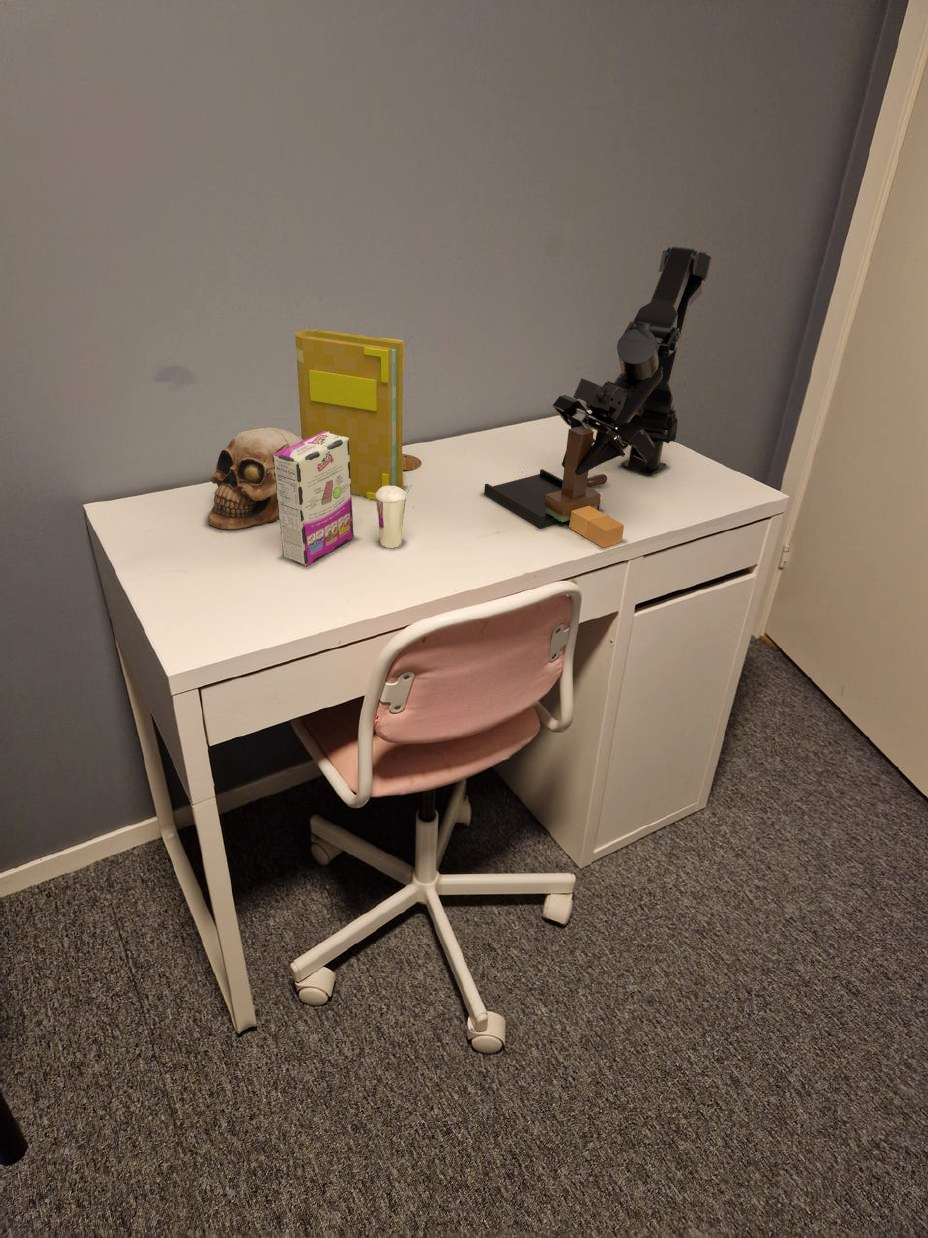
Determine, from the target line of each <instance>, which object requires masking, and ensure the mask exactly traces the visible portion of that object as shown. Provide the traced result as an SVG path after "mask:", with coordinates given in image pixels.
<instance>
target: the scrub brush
mask: <svg viewBox="0 0 928 1238" xmlns="http://www.w3.org/2000/svg"><path fill="white" fill-rule="evenodd" d="M594 435H595V431H593V430H589V429H587V428H585V427H583V426H579V427H575V428H571V427H570V428H569V429H568V432H567V439H566V440H567V441H566V448H565V452H566V456H565V465H564V467H563V474H562V480H563V482H562V490H559V491H556V492H552V493H549V494H546V495H545V505H544V506H546V511H545V512H546V513H548V514H549V515H551V516H553V517H554V518H556V519H558V520H559V521H561V522H560V523H564V522H568V521H570V517H571V511H573V510H576V509H579V508H583V507H586V506H591V507H593V508H595V509H596V510H597V505H599V503H600V504H601V497H602V496H601V495H602V494H601V493H600V492H598V491H597V490H594V489H592V487H591V488H589V487H587V480H588V478H589V472H590V470H589V471H587V472H585V473H583V474H581V475H577V474H576V473H575V470H576V468H577V467H578V465H579V463H580V462H581V460H582V459H583V458H584V456H585V455H586V454H587V452H588V451H589V449H590V448H591V447H592V445H593V444H592V442H593V438H594Z"/></svg>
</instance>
